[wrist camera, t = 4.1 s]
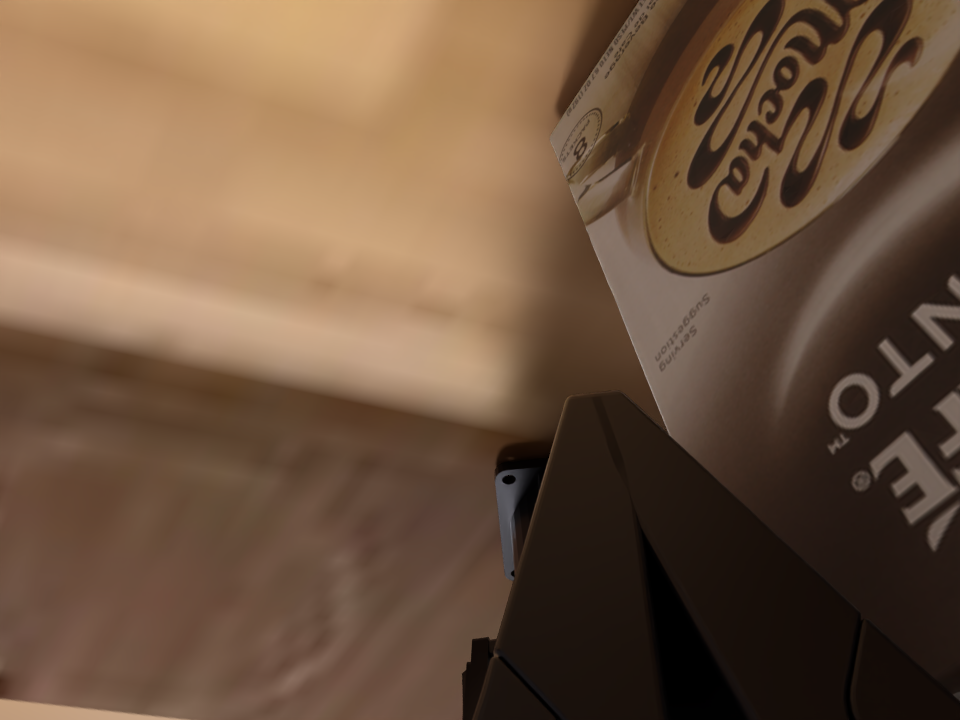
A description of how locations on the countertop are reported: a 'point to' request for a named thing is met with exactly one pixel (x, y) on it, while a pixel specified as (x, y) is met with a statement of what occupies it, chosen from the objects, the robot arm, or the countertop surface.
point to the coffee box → (797, 273)
